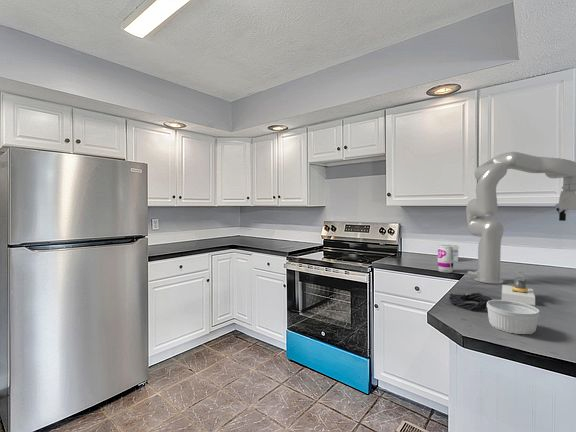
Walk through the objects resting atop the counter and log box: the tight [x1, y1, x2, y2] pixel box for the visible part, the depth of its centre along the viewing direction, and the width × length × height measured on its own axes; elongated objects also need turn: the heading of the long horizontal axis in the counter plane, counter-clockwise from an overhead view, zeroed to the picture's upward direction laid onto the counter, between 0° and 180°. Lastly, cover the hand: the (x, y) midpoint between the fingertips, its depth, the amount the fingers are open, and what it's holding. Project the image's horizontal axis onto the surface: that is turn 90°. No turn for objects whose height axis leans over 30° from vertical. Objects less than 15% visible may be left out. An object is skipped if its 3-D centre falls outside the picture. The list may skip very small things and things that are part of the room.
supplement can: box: [437, 244, 454, 274], centre depth 180 cm, size 8×8×15 cm
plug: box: [511, 277, 529, 293], centre depth 126 cm, size 5×5×8 cm
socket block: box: [501, 284, 536, 306], centre depth 126 cm, size 10×16×8 cm, turn 144°
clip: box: [515, 271, 525, 281], centre depth 127 cm, size 3×12×2 cm, turn 144°
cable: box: [448, 292, 493, 312], centre depth 117 cm, size 17×14×4 cm
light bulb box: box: [446, 244, 459, 262], centre depth 218 cm, size 11×7×11 cm, turn 67°
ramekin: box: [487, 299, 541, 335], centre depth 94 cm, size 13×13×7 cm
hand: (571, 221), depth 158 cm, fingers open, 9 cm apart
